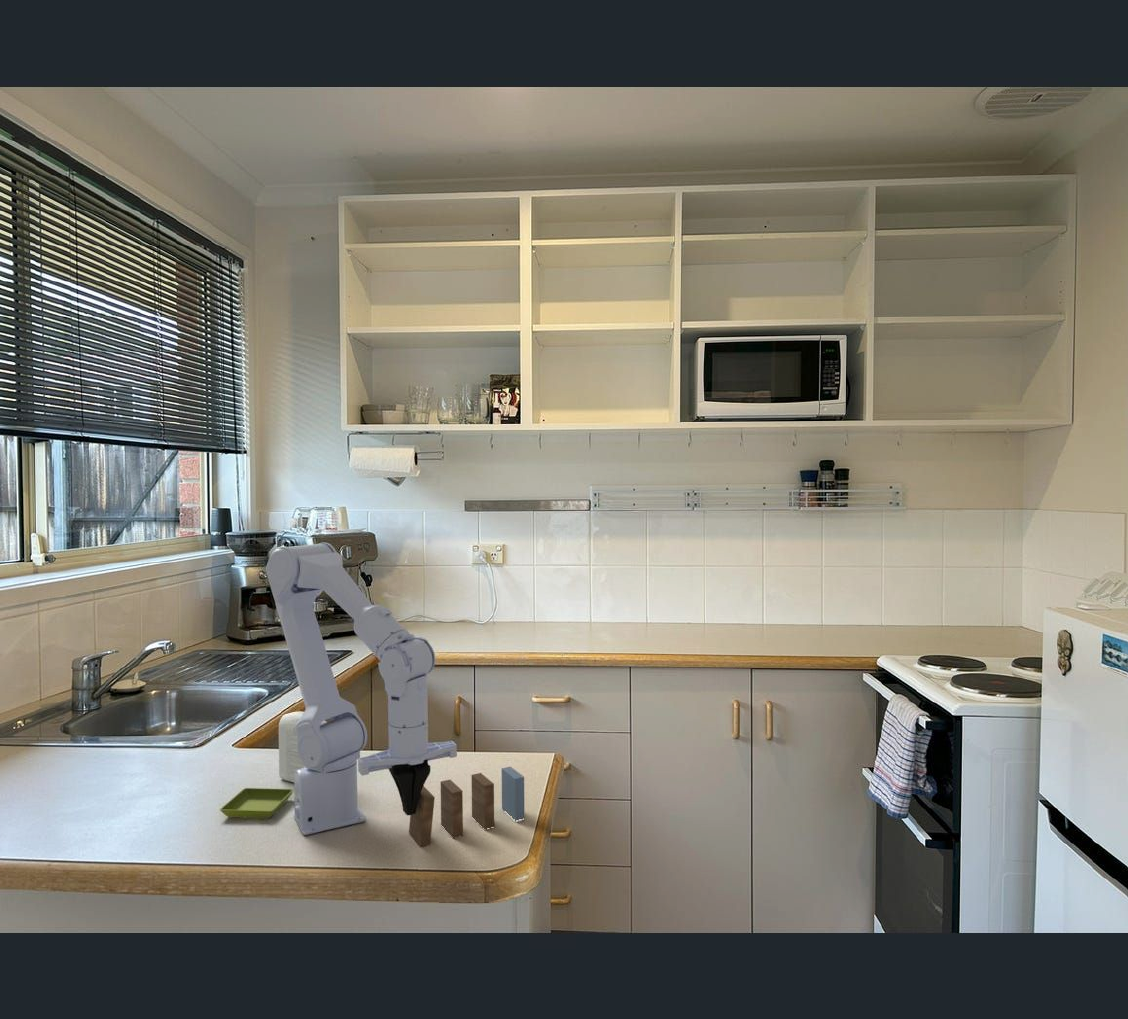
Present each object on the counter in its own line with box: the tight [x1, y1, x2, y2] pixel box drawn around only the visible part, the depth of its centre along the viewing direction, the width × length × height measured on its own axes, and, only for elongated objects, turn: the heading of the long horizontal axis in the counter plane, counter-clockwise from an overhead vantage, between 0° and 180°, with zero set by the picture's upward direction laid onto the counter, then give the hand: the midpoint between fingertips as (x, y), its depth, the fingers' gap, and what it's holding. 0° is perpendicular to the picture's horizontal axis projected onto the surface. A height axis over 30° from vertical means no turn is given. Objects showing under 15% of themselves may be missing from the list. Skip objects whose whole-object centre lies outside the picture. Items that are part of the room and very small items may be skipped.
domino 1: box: [408, 785, 435, 847], centre depth 114 cm, size 2×5×7 cm, turn 30°
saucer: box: [219, 787, 294, 819], centre depth 125 cm, size 9×9×2 cm
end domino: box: [501, 766, 526, 821], centre depth 122 cm, size 2×5×7 cm, turn 30°
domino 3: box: [471, 772, 495, 830], centre depth 119 cm, size 2×5×7 cm, turn 30°
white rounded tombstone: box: [278, 711, 328, 783], centre depth 136 cm, size 10×4×12 cm, turn 60°
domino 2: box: [440, 779, 464, 839], centre depth 116 cm, size 2×5×7 cm, turn 30°
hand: (409, 812), depth 113 cm, fingers closed
